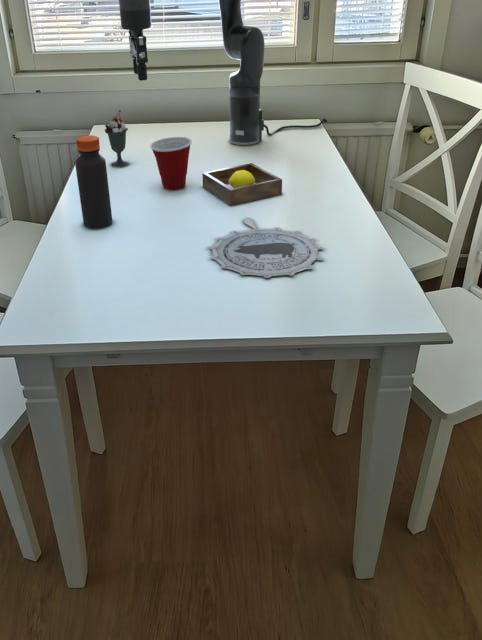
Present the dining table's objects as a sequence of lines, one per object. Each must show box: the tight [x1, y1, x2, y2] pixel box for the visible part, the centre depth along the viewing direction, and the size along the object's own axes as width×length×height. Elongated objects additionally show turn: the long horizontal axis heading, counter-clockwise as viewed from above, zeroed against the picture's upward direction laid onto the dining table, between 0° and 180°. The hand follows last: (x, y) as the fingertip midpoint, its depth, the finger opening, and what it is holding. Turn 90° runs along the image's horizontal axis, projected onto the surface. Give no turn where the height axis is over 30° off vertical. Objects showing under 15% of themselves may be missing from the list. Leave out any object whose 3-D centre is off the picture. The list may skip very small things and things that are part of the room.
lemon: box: [228, 170, 256, 188], centre depth 163 cm, size 7×5×5 cm
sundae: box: [104, 110, 129, 168], centre depth 181 cm, size 7×7×15 cm
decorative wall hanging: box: [209, 217, 325, 279], centre depth 137 cm, size 24×1×30 cm
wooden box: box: [202, 162, 283, 207], centre depth 164 cm, size 15×15×4 cm
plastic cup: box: [149, 136, 193, 191], centre depth 165 cm, size 11×11×12 cm
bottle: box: [74, 134, 113, 230], centre depth 144 cm, size 7×7×20 cm
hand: (140, 76), depth 164 cm, fingers open, 8 cm apart
